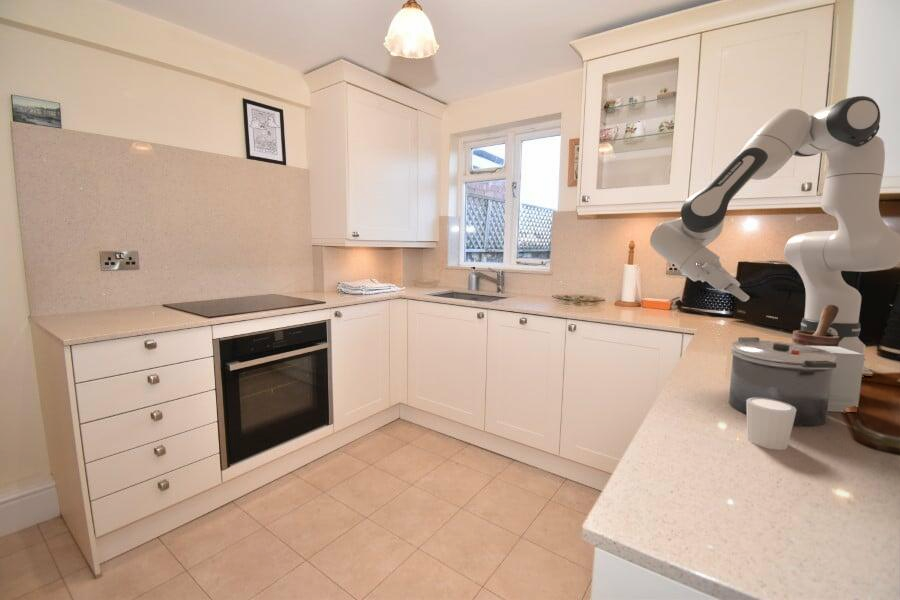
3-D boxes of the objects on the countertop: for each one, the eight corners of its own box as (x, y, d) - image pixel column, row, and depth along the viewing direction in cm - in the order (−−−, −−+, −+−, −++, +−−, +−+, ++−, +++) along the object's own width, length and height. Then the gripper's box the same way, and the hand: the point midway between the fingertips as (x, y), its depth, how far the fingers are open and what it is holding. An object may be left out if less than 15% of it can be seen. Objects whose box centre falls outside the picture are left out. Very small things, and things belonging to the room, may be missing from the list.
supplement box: (858, 413, 83) (866, 354, 82) (817, 411, 85) (824, 352, 83) (832, 400, 90) (839, 345, 89) (795, 398, 92) (801, 344, 90)
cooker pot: (710, 395, 93) (714, 345, 92) (781, 395, 93) (786, 345, 92) (766, 427, 77) (772, 366, 75) (852, 427, 77) (860, 366, 75)
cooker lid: (710, 343, 93) (711, 334, 93) (782, 343, 93) (783, 334, 93) (779, 368, 74) (780, 357, 73) (870, 368, 74) (871, 357, 73)
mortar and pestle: (790, 374, 110) (798, 301, 107) (833, 381, 104) (843, 304, 101) (786, 384, 101) (794, 305, 99) (833, 392, 95) (843, 309, 93)
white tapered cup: (779, 455, 66) (784, 414, 65) (734, 438, 72) (738, 400, 72) (800, 446, 69) (804, 407, 69) (755, 430, 76) (759, 394, 75)
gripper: (702, 252, 102) (752, 288, 95) (717, 260, 117) (761, 292, 110) (683, 271, 104) (730, 308, 97) (700, 276, 119) (741, 308, 112)
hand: (747, 299), depth 104 cm, fingers closed
